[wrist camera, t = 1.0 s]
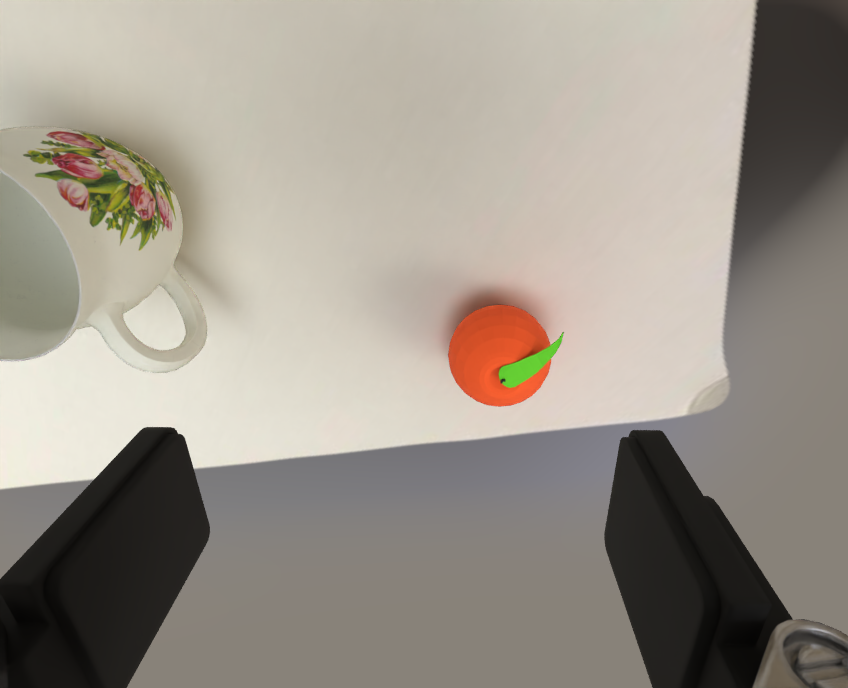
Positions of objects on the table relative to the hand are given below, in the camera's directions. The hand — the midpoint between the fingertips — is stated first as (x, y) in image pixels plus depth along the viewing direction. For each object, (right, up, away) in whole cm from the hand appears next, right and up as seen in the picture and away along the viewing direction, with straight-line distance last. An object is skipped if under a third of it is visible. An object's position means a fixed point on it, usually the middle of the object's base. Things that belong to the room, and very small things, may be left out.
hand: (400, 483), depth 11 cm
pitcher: (-19, +12, +25) cm, 33 cm away
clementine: (+6, +4, +27) cm, 28 cm away
